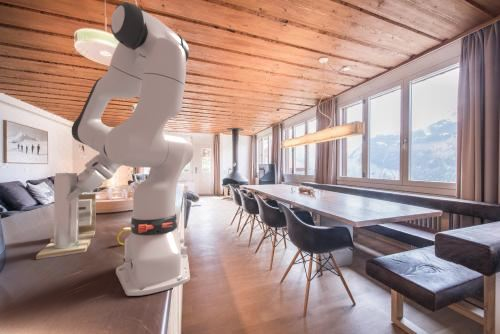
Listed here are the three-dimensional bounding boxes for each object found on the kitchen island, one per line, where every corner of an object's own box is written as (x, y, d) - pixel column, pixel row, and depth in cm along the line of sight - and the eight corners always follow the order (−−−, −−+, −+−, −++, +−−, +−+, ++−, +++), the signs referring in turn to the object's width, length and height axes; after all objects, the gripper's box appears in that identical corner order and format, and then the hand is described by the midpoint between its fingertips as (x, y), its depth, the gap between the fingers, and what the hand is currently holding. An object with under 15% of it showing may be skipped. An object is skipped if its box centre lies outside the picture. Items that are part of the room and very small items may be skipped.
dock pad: (85, 251, 71) (85, 248, 71) (36, 259, 65) (36, 255, 65) (90, 241, 81) (90, 237, 81) (48, 246, 75) (49, 243, 75)
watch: (134, 242, 81) (136, 226, 82) (136, 244, 79) (137, 228, 80) (116, 244, 78) (117, 228, 78) (117, 246, 76) (119, 229, 76)
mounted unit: (93, 237, 86) (93, 195, 86) (50, 242, 80) (50, 197, 80) (95, 232, 93) (95, 193, 93) (56, 237, 86) (56, 195, 86)
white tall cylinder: (64, 249, 70) (64, 173, 70) (48, 248, 71) (49, 172, 71) (83, 242, 76) (83, 172, 76) (68, 241, 77) (69, 172, 77)
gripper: (84, 164, 86) (51, 190, 78) (100, 163, 72) (61, 194, 65) (97, 175, 89) (66, 201, 81) (114, 176, 76) (80, 207, 68)
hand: (64, 198), depth 73 cm, fingers open, 8 cm apart
